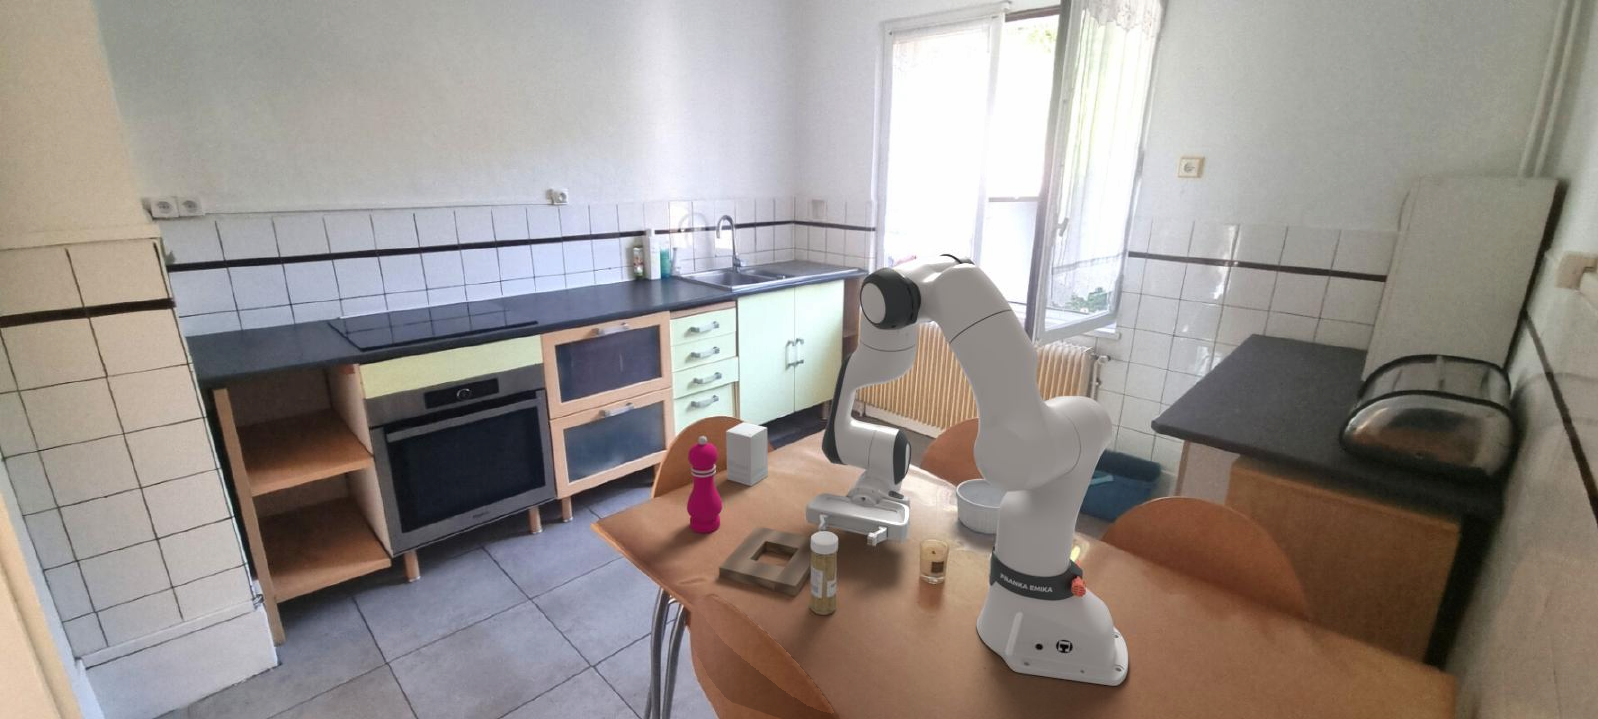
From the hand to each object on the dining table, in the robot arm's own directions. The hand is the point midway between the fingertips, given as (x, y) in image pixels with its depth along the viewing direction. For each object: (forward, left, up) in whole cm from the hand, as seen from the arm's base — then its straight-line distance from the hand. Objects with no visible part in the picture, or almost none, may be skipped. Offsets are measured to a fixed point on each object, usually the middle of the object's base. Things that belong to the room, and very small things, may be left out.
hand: (846, 536), depth 122 cm
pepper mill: (+32, -4, -7) cm, 33 cm away
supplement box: (+34, -28, -7) cm, 45 cm away
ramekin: (-22, -29, -7) cm, 37 cm away
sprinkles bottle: (0, +12, -7) cm, 14 cm away
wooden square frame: (+13, +3, -7) cm, 15 cm away
